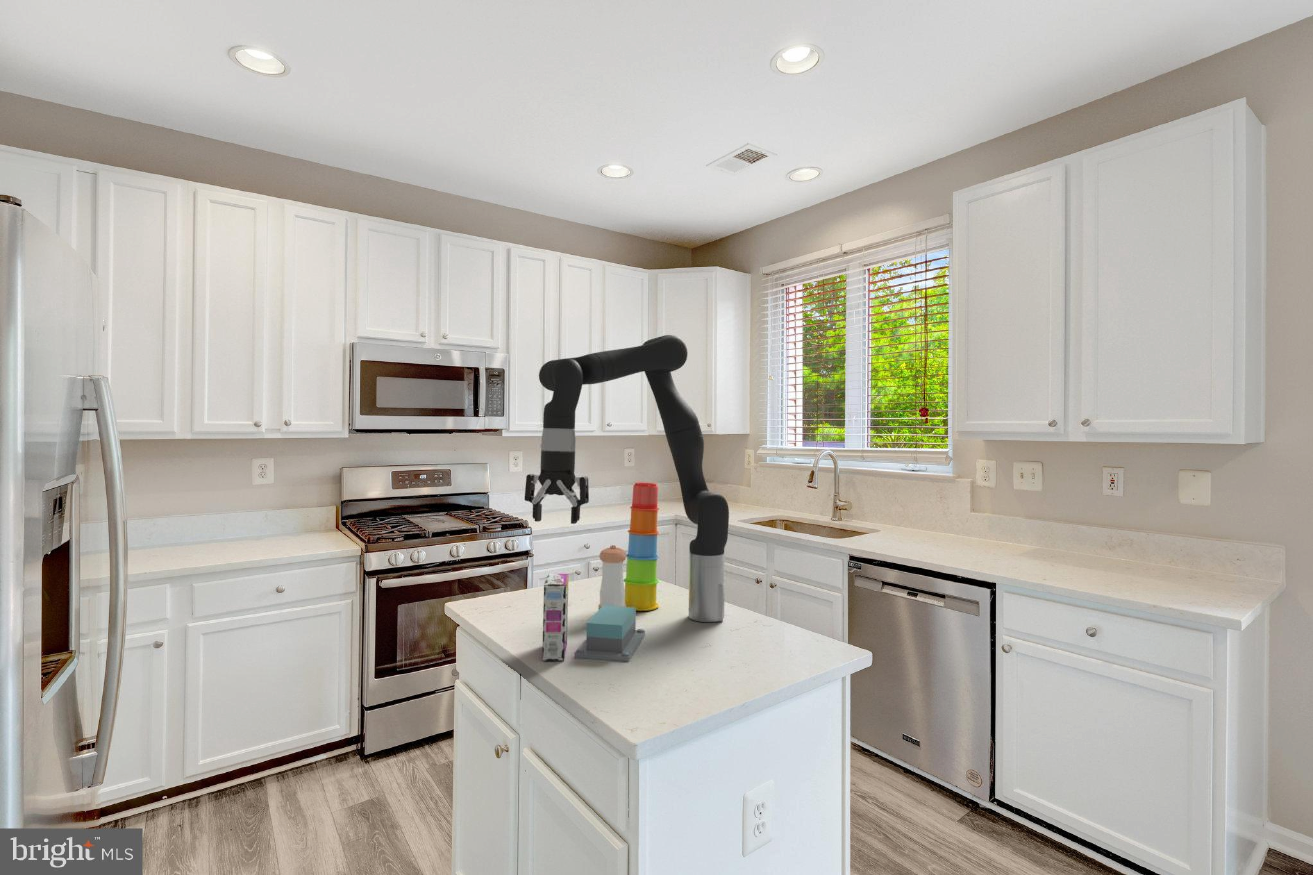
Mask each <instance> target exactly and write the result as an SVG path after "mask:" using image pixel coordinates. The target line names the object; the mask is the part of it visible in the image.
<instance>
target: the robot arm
mask: <svg viewBox="0 0 1313 875" xmlns="http://www.w3.org/2000/svg"><path fill="white" fill-rule="evenodd" d="M687 359H688V348H687V345H686V343H685V342H684V340H683V339H682V338H681V337H679V336H678V335H675V334H674V335H673V334H664V335H661V336H658V337H655V338H651V339H648V340H646V341H645V342H643V344H642V345H637V346H632V347H626V348H618V349H617V348H616V349H611V350H603V351H599V352H592V353H587V354H585V355H580V356H577V357H569V358H559V359H551V360H549V361H547V362H544V364H543V365H542V366H541V368H540V369H539V373H538V380H539V382H540V384H541V386H542V387H543V388H544V389H546V390H548V391H550V392H552V398H551V400H550V401H549V402H547V403H546V404H545V405H544V407H543V418H542V419H543V420H542V433H541V443H540V473H539V475H538V474H534V473H529V474H527V475H526V480H525V488H524V498H523V499H524V501H525V502H529V503H531V504H532V519H533V520H534V522H538V523H539V522H541V521H542V514H543V513H542V511H543V504H542V503H541V502H542V501H543V500H544V499H545V498H546V497H547V496H548V495H549V496H553V495H556V496H565V498H566V499H567V500H568V501H569V503H570V504H571V505H572V506H571V508H570V511H571V512H570V524H573V525H575V524H577V523H578V521H580V518H581V506H582V505H585V504H588V503H590V502H589V501H590V496H589V492H590V491H589V489H590V487H589V477H588V476H579V477H576V475H575V468H576V444H577V443H576V440H577V438H576V409H577V406H578V403H579V400H580V396H581V393H582V392H581V391H582V388H583V385H597V384H601V383H606V382H610V381H614V380H617V379H620V378H621V379H622V378H625V377H628V376H631V375H634V374H638V373H643V372H644V375H645V376H646V377H645V378H646V380H647V382H648V384H649V387H650V389H651V392H652V394H653V397H654V399H655V403H656V406H657V410H658V412H659V415H660V419H661V422H662V425H663V426H662V427H663V431H664V433H665V437H666V441H667V444H668V448H669V450H670V453H671V456H672V461H673V463H674V468H675V471H676V473H677V478H678V480H679V481H678V482H679V486H680V491H681V492H680V493H681V496H682V502H683V503H682V504H683V509H684V512H685V515H686V516H687V519H688V520H689V521H690V522H691V523H693V524H694V525H696V526H697V529H696V530H697V531H696V537H695V538H693V539H692V540H691V541H690V542H689V546H688V547H689V549H688V550H689V552H688V553H689V554H688V555H689V556H688V562H689V564H688V566H689V567H688V568H689V569H688V618H689V619H690V620H693V621H695V622H701V623H716V622H723V621H724V619H725V596H726V594H725V592H726V591H725V590H726V589H725V588H726V587H725V586H726V585H725V584H726V582H725V580H726V579H725V550H726V549H725V547H726V545H727V543H728V538H729V525H730V524H729V521H730V510H729V504H728V501H727V500H726V498H725V497H724V496H723V495H722V494H721V493H720V494H719V493H717V492H712V491H710V490H709V487H708V485H707V483H706V479H705V475H704V472H703V460H704V453H705V452H704V451H705V443H704V442H705V440H704V436H703V432H702V428H701V424H700V421H699V418H698V416H697V414H696V413H695V412H694V410H693V408H692V407H691V406H690V405H689V403H688V402H687V401H686V400H685V399H684V398H683V397H682V395H681V394H680V392H679V390H678V388H677V387H676V385H675V382H674V380H673V376H672V372H676V371H678V370H679V369H681V368H682V367H683V366H684V365H685V363H686V362H687ZM538 482H539V483H540V485H541V487H540V488H539V490H538V491H537V493H536V495H535V490H536V484H538ZM575 484H576V485H577V487H578V488H579V497H578V494H577V492H576V491H575V490H574V488H573V487H574V485H575Z"/></svg>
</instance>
